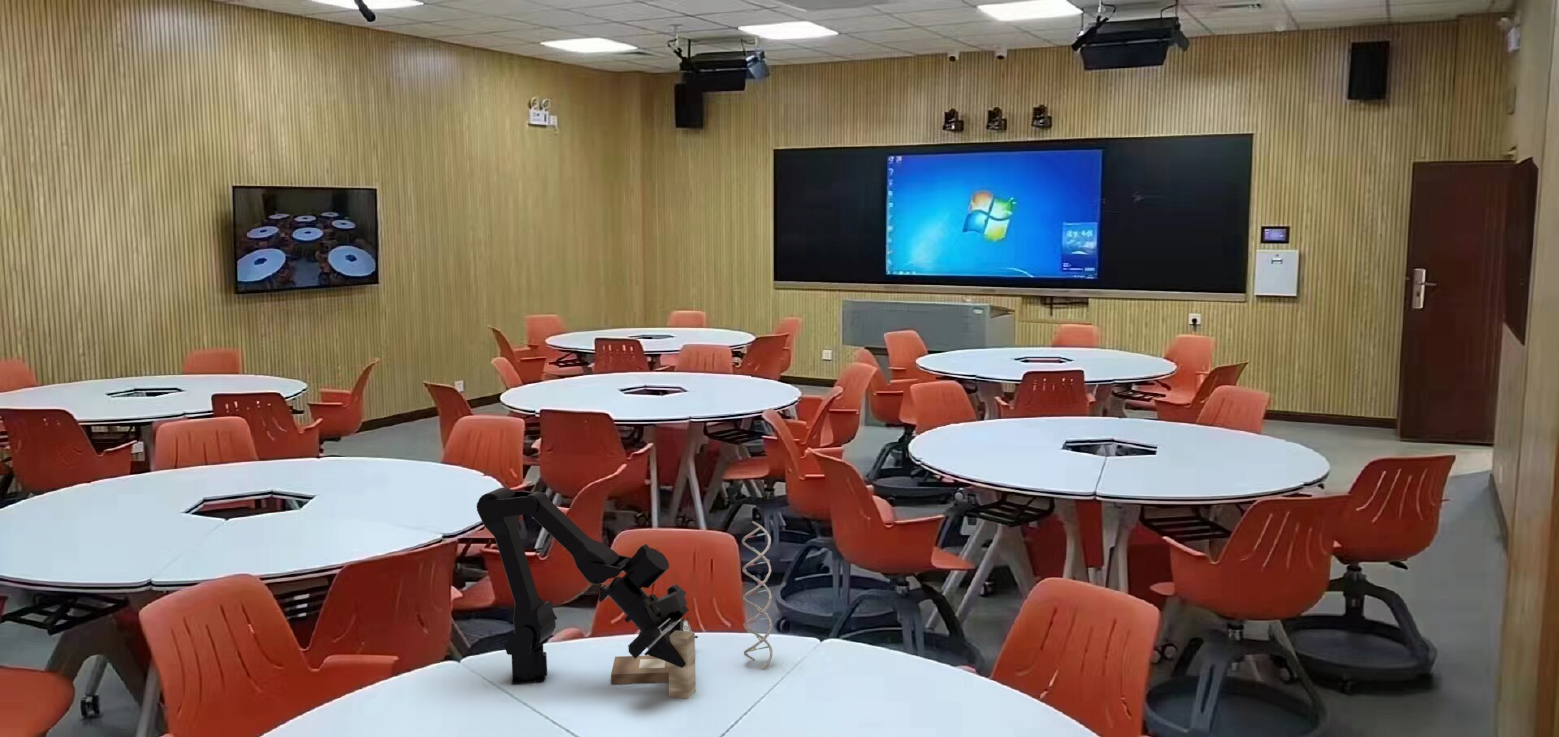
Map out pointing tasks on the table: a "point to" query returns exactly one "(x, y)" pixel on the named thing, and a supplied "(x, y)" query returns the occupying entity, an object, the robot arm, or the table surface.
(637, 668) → the walnut slab
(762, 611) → the dna model
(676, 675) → the maple pillar
